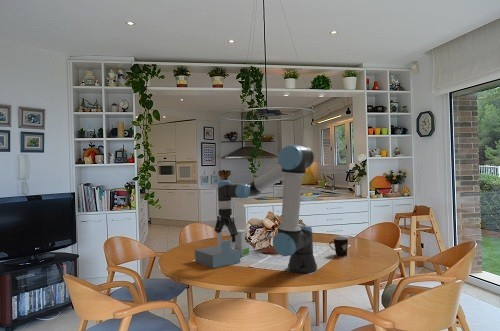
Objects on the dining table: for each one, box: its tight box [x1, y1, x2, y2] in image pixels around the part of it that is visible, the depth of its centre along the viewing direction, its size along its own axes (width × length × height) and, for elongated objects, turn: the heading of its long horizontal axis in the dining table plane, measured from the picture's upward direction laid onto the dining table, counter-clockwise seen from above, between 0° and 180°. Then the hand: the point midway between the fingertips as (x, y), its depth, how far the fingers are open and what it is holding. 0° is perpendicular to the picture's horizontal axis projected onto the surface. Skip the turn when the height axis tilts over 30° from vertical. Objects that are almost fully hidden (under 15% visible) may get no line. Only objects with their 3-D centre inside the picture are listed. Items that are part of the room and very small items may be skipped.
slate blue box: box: [194, 244, 239, 269], centre depth 206 cm, size 20×18×7 cm
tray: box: [212, 239, 241, 269], centre depth 205 cm, size 20×18×14 cm
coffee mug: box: [328, 236, 349, 257], centre depth 212 cm, size 12×9×10 cm
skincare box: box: [233, 229, 250, 258], centre depth 221 cm, size 8×7×16 cm
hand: (226, 246), depth 198 cm, fingers open, 13 cm apart
